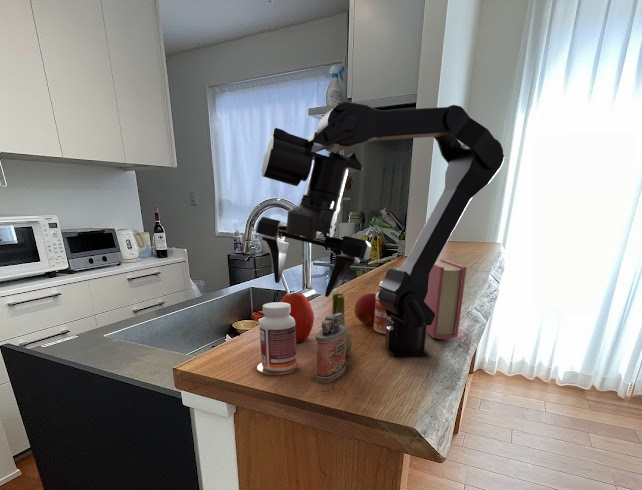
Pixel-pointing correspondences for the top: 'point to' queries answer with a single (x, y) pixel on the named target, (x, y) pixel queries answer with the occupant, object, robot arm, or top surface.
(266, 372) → the gold disc
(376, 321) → the pill bottle
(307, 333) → the apple
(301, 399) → the top surface
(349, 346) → the fennel bulb
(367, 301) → the apple
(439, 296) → the book
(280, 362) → the pill bottle
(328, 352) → the lighter
